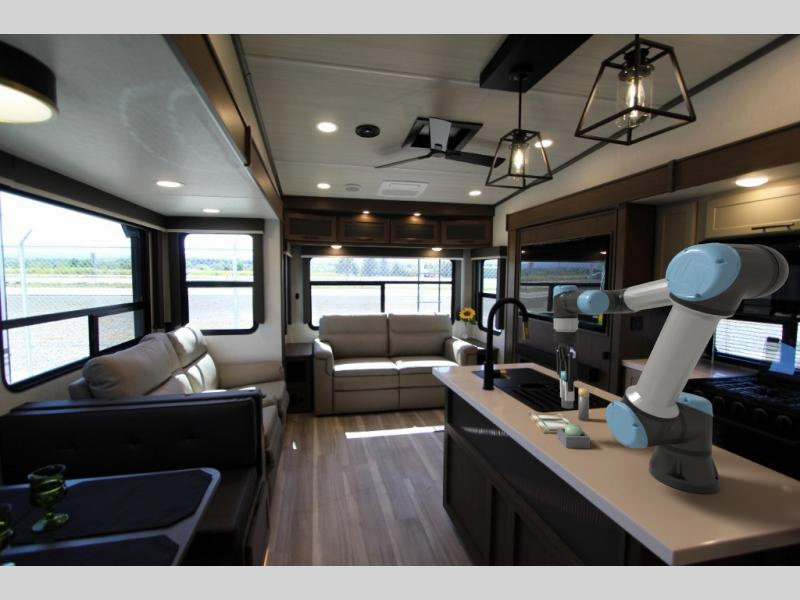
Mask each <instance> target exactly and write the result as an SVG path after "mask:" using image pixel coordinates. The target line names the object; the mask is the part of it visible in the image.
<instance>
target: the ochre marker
mask: <svg viewBox="0 0 800 600" xmlns="http://www.w3.org/2000/svg"><path fill="white" fill-rule="evenodd" d="M577 414H578V420H579V421H582V422H588V421H589V420H590V418H589V417H590V389H589V388H586V387H579V388H578V413H577ZM589 422H590V421H589Z"/></svg>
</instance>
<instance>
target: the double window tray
mask: <svg viewBox="0 0 800 600" xmlns="http://www.w3.org/2000/svg"><path fill="white" fill-rule="evenodd" d="M528 417H529V418H530V419H531V420H532V422H533V423H534V424H535V425H536V426H537V427H538V428H539V430H540V431H541V432H542V433H543V434H550V435H551V434H552V435H553V434H554V435H555V434H556V435H557V428H565V425H566V424H573V423H572V422H571V421H570V420H569V419H568V418H567V417H566V416H564V414H562V413H553V412H552V413H544V412H543V413H542V412H541V413H540V412H538V413H536V412H535V413H528Z"/></svg>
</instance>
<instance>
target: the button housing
mask: <svg viewBox="0 0 800 600" xmlns="http://www.w3.org/2000/svg"><path fill="white" fill-rule="evenodd" d="M556 436H557V439H558V441H559V440H560V441H561V444H562V445H563V446H564V448H566V449H590V448H591V437H590V435H588V434H587V433H586V432H584V430H582V436H567V435H566V434H565V428H557V434H556ZM560 441H559V442H560Z"/></svg>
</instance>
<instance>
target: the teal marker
mask: <svg viewBox="0 0 800 600" xmlns="http://www.w3.org/2000/svg"><path fill="white" fill-rule="evenodd" d="M564 380H566V373H565V371H561V397H560V398H561V399H560V400H561V408H564V409H573V408H574V401H565V382H564Z"/></svg>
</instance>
